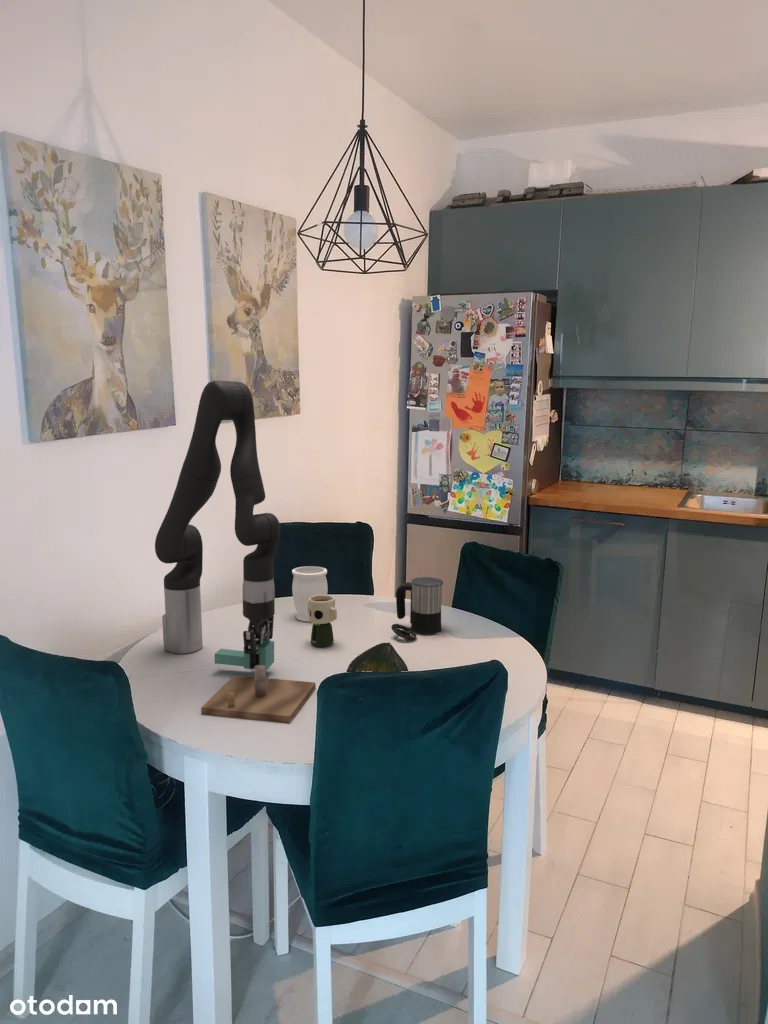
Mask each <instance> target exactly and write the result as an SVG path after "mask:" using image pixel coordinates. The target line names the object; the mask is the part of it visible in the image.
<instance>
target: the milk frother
mask: <svg viewBox="0 0 768 1024" xmlns="http://www.w3.org/2000/svg"><path fill="white" fill-rule="evenodd" d="M443 585H444V580H443V579H441V578H437V577H432V576H418V577H414V578H412V579H411V580H410V582H404V583H402V584H400V585H399V586H398V587H397V588H396V592H395V600H396V601H395V602H396V604H395V605H396V617H397V618H398V620H403V619H404V618H406V591H410V612H409V613H410V616H409V617H410V618H409V623H410V627H408V626H405V625H402V624H399V623H393V624H392V625H391V626H390V627H391V630H392V632H393V633H394V634H395V635H397V636H398V637H400V638H402V639H404V641H407V640H408V641H409V640H410V641H413V640H415V639H416V638H417V634H418V635H422V636H423V635H424V636H428V635H429V636H431V635H437V634H440V633H441V632H442V631H443V628H442V605H443V604H442V601H443V599H442V596H443Z"/></svg>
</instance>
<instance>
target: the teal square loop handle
mask: <svg viewBox="0 0 768 1024" xmlns="http://www.w3.org/2000/svg"><path fill="white" fill-rule="evenodd" d="M258 640H259V639H255V641H258ZM274 663H275V641H274V640H271V639H270V640H268V641H267V640H263V643H262V644H261V645H260V650H259V665H264V666H265V672H267V671H268V669H269V668H270V667H271V666H272V665H273V664H274ZM214 664H217V665H218V664H219V665H226V666H235V667H243V669H245V670H254V669H252V668H250V654H245V649H244V648H243V650H237V649H230V648H229V649H227V648H220V649H219V650H217V651H216V652H215V653H214Z"/></svg>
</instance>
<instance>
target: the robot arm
mask: <svg viewBox="0 0 768 1024" xmlns="http://www.w3.org/2000/svg"><path fill="white" fill-rule="evenodd" d="M253 399H254V398H253V394H252V392H251V389H250V387H248V385H247V384H245V383H244V382H242V381H234V380H233V381H232V380H231V381H230V380H212V381H209V382H208V383H206V385H205V386H204V387H203V389H202V392H201V395H200V398H199V402H198V406H197V413H196V416H195V423H194V427H193V431H192V435H191V437H190V438H191V439H190V442H189V445H188V449H187V453H186V455H185V458H184V461H183V463H182V467H181V470H180V473H179V476H178V480H177V483H176V486H175V490H174V492H173V495H172V499H171V501H170V504H169V506H168V509H167V511H166V513H165V516H164V518H163V520H162V523H161V524H160V526H159V529H158V532H157V534H156V537H155V541H154V552H155V556H156V557H157V559H158V560H159V561H160V562H161V563H162V564H163V563H164V564H175V563H176V564H175V566H174V567H173V568H172V569H171V571H169V572H167V573H166V574H165V575H164V578H163V592H164V593H163V594H164V596H163V597H164V609H165V610H164V612H165V613H164V614H162V618H161V619H162V639H163V641H162V642H163V651H167V652H170V653H172V654H183V655H184V654H191V653H194V652H197V651H199V650H201V649H202V648H203V645H204V644H203V621H202V599H201V598H202V597H201V596H202V595H201V579H202V578H201V577H202V576H203V551H204V547H203V539H202V535H201V533H200V530H199V529H198V528H197V527H196V526H195V525H193V524H190V522H191V521H192V519H193V518H195V516H196V515H197V513H198V512H199V511H200V510H201V509H202V508H203V507H204V506H205V504H206V503H208V501H209V500H210V499H211V498H212V496H213V495H214V492H215V490H216V488H217V485H218V482H219V478H220V475H221V473H222V463H221V459H220V455H219V452H218V449H217V448H218V447H217V443H216V440H217V435H218V430H219V427H220V426H221V423H222V421H232V422H233V426H234V428H235V429H234V430H235V436H236V437H235V438H236V439H235V440H236V441H235V447H234V451H233V455H232V457H231V462H230V465H229V466H230V470H229V471H230V472H229V473H230V480H231V485H232V489H233V490H232V491H233V493H234V497H235V498H234V499H235V506H234V507H235V508H234V509H235V512H234V534H235V537H236V539H237V541H239V543H240V544H241V545H243V546H246V547H250V546H251V547H252V546H256V548H255V549H254V550H253V551H252V552H249V553H248V554H246V555H245V556H244V557H243V563H242V565H243V567H242V568H243V569H242V570H243V579H242V581H243V583H242V615H243V617H244V618H245V619H247V620H249V622H248V627H247V630H244V631H243V632H242V636H243V650H244V649H245V654H250V668H252V669H251V670H253V669H254V667H255V666H256V665H259V650H260V645H261V644H262V643H263V640H267V641H268V640H270V641H271V640H272V639H273V638H274V637H273V635H274V634H273V633H274V618H275V606H276V605H275V604H276V601H275V595H276V594H275V582H274V559H275V556H276V553H277V549H278V545H279V542H280V541H279V540H280V537H281V524H280V521H279V519H278V518H277V516H276V515H275V514H273V513H271V512H264V513H258V514H254V508H255V506H256V505H258V504H261V503H262V502H264V501H265V499H266V491H265V487H264V481H263V479H262V474H261V471H260V469H261V468H260V465H259V460H258V459H259V458H258V452H257V451H258V449H257V448H258V447H257V433H256V432H257V431H256V420H255V419H256V418H255V407H254V400H253ZM255 639H259V640H258V641H255Z"/></svg>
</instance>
